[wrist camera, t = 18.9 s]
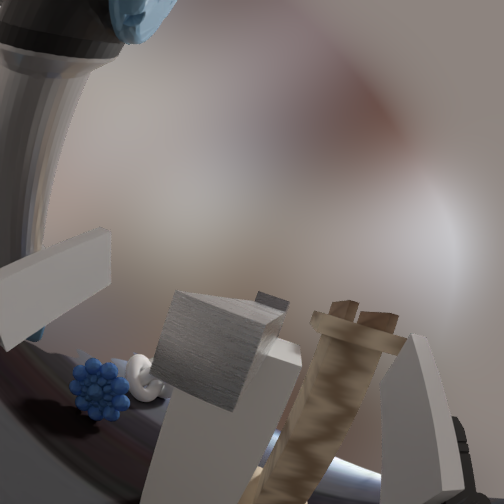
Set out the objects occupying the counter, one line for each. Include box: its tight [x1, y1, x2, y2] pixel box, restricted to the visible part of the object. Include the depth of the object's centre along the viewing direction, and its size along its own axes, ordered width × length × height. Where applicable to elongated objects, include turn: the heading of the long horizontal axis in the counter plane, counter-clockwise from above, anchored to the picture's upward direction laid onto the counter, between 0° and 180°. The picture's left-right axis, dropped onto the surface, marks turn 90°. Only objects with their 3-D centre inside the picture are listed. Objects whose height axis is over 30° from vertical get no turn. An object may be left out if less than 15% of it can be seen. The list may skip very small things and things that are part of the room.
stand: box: [237, 300, 407, 504], centre depth 31 cm, size 10×14×32 cm
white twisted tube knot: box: [126, 354, 174, 402], centre depth 54 cm, size 11×12×9 cm
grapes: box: [69, 358, 130, 421], centre depth 37 cm, size 12×7×12 cm, turn 86°
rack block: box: [140, 338, 302, 504], centre depth 23 cm, size 8×11×26 cm
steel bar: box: [149, 290, 290, 412], centre depth 20 cm, size 3×24×4 cm, turn 172°
